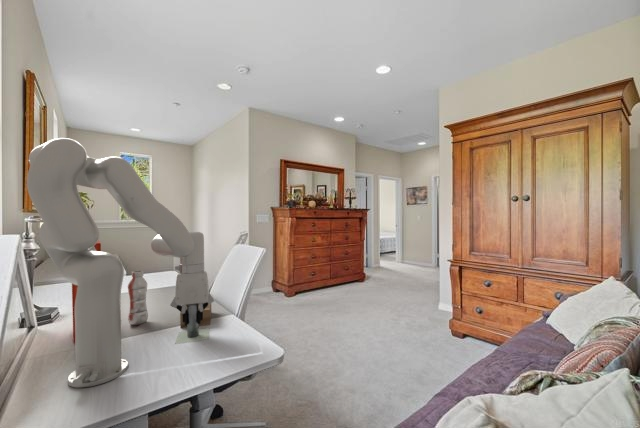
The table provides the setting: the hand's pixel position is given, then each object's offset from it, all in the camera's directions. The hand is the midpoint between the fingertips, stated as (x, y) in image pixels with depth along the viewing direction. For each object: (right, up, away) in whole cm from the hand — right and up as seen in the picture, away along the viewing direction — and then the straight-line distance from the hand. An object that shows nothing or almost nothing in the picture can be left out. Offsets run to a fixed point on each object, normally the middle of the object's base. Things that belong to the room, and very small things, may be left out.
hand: (192, 322), depth 99 cm
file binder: (-40, -6, +6) cm, 40 cm away
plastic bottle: (-26, -5, +13) cm, 30 cm away
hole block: (-5, -5, +16) cm, 18 cm away
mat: (0, -5, 0) cm, 5 cm away
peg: (0, -4, 0) cm, 4 cm away
